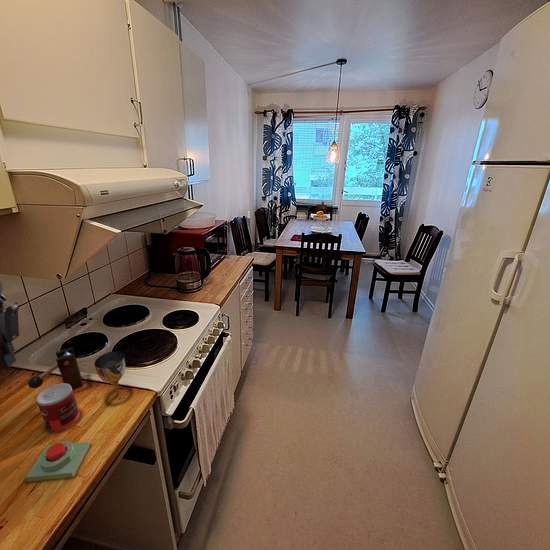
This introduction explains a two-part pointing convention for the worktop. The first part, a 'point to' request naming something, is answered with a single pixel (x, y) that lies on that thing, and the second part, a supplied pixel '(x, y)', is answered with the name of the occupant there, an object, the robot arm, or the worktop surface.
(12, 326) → the robot arm
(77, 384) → the dark brown boxy piece
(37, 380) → the lever
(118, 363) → the wine glass
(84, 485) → the worktop surface
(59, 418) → the canned food
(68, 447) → the button box
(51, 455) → the button
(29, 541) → the worktop surface
